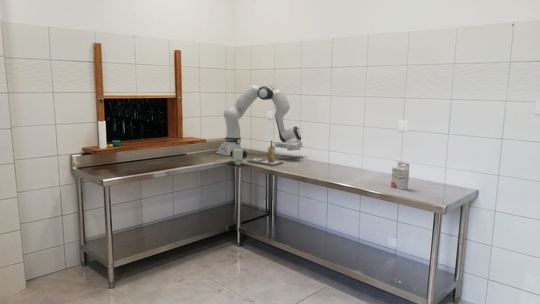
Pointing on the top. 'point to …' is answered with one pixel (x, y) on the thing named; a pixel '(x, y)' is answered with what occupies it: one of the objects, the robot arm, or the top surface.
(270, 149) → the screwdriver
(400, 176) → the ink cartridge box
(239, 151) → the pneumatic valve
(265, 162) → the switch board
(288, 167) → the top surface
